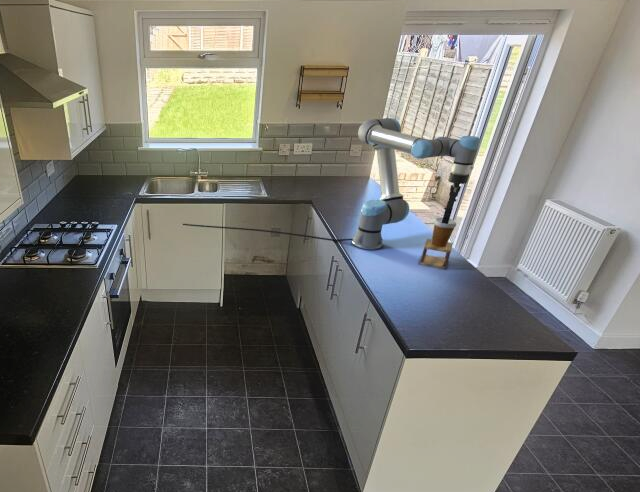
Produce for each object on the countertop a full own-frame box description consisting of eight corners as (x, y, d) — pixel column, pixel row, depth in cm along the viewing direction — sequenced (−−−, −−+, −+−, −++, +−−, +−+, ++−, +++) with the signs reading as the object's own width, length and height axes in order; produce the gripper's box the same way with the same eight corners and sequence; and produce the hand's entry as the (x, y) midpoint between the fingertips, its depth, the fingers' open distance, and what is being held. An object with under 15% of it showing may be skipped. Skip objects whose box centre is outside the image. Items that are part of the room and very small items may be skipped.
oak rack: (419, 264, 213) (424, 246, 209) (422, 256, 222) (427, 238, 217) (445, 269, 208) (451, 250, 203) (447, 260, 217) (452, 242, 212)
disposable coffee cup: (437, 249, 205) (445, 225, 199) (423, 241, 213) (430, 218, 207) (454, 247, 207) (462, 223, 201) (439, 239, 215) (446, 216, 209)
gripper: (468, 180, 182) (453, 228, 193) (470, 168, 201) (456, 212, 212) (448, 178, 186) (434, 225, 196) (452, 166, 204) (439, 210, 215)
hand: (445, 219), depth 204 cm, fingers open, 13 cm apart
